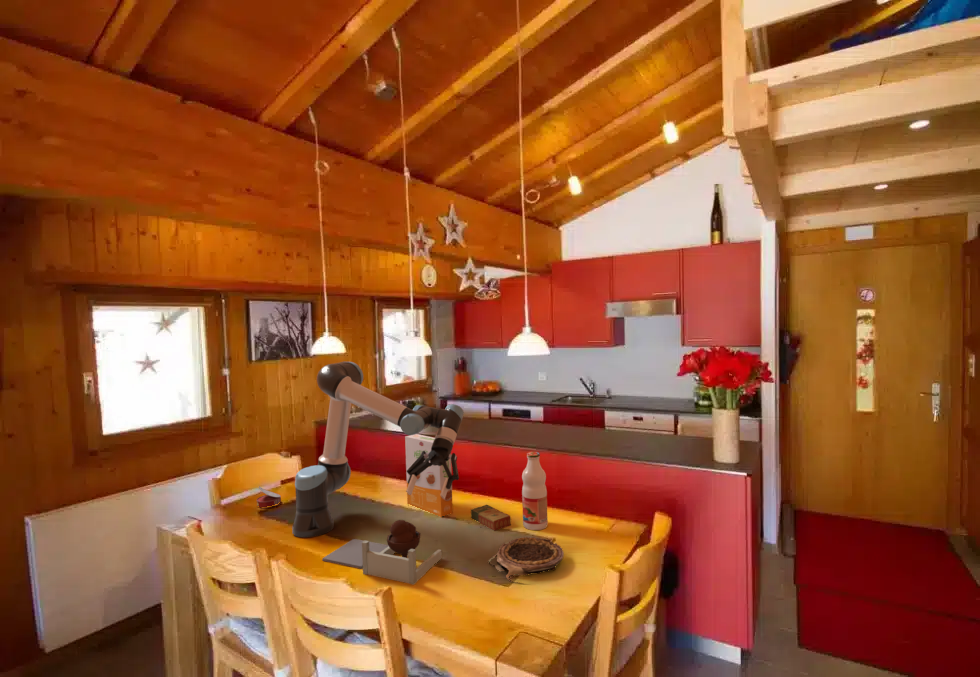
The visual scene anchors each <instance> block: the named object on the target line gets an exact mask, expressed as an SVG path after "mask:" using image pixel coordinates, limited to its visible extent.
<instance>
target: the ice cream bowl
mask: <svg viewBox="0 0 980 677" xmlns="http://www.w3.org/2000/svg"><path fill="white" fill-rule="evenodd" d="M416 527H417V526H415V525H414V524H413V523H411V522H410V521H406V520H403V519H398V520H395V521H394V522H393V523H392V524H391V526H390V529H389V532H390V534H388V535H387V537H386V543H387V545H388V546H389V548H391V549H392V550H393V551H395V552H396V553H397V554H399V555H401V557H404V558H408V551H409V550H410V549H415V550H416V549H417V547H418V546H419V545H420V542H421V532H419V531H417V528H416ZM396 553H395V554H396Z"/></svg>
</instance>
